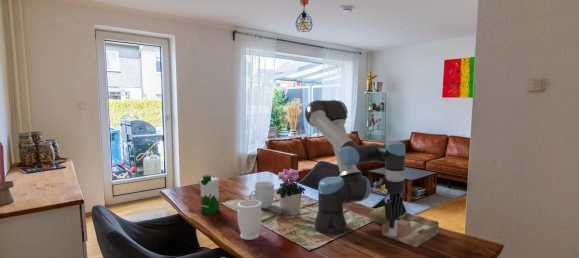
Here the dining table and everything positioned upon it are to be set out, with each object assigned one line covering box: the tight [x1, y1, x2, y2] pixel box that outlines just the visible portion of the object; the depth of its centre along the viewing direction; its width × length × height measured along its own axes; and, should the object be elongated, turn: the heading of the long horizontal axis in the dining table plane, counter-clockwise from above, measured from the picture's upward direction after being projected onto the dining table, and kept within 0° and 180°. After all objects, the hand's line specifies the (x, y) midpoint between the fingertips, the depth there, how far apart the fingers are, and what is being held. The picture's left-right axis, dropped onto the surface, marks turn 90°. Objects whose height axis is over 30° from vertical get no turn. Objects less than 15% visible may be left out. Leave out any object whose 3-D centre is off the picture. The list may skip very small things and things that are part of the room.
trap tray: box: [381, 211, 440, 248], centre depth 137 cm, size 16×20×6 cm
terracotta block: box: [397, 219, 411, 237], centre depth 133 cm, size 5×5×5 cm
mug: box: [248, 181, 275, 209], centre depth 172 cm, size 15×11×13 cm
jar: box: [236, 199, 263, 241], centre depth 135 cm, size 11×10×15 cm
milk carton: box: [198, 175, 221, 216], centre depth 164 cm, size 9×9×20 cm
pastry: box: [368, 205, 389, 226], centre depth 152 cm, size 14×12×8 cm
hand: (393, 234), depth 128 cm, fingers closed
